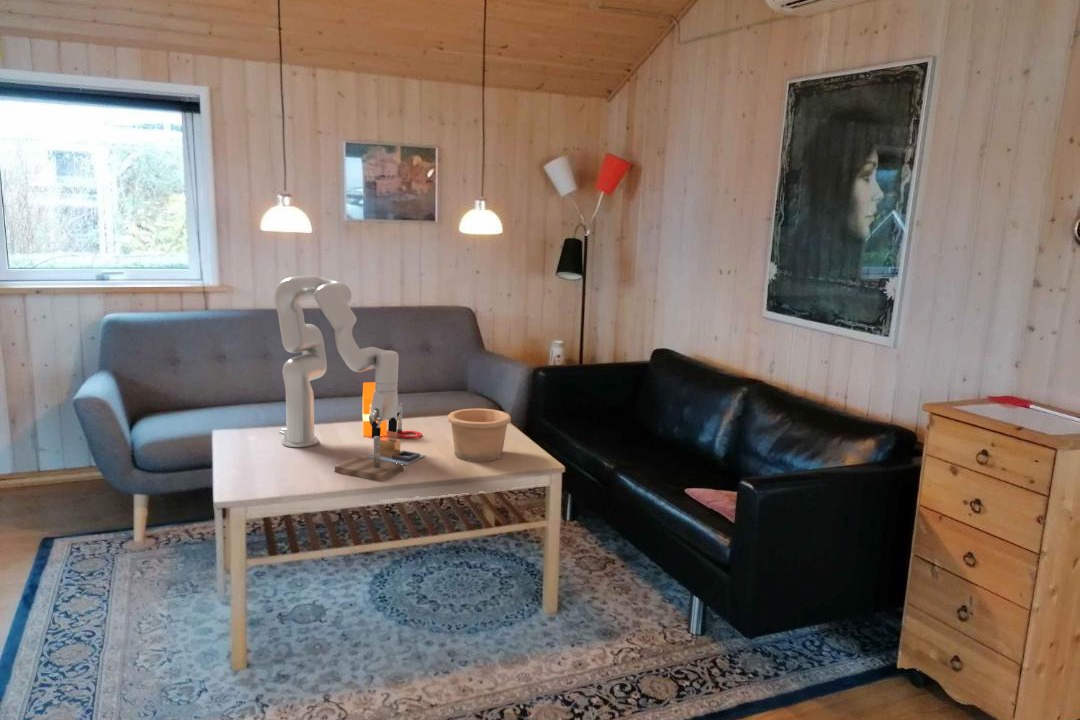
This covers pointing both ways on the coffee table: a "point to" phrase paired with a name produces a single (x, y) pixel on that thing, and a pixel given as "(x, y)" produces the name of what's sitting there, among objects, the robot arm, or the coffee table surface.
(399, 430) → the tow hook
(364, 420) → the orange juice
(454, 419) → the pottery
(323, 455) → the coffee table surface
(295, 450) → the coffee table surface
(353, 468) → the post stand
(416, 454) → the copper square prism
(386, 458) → the mat
